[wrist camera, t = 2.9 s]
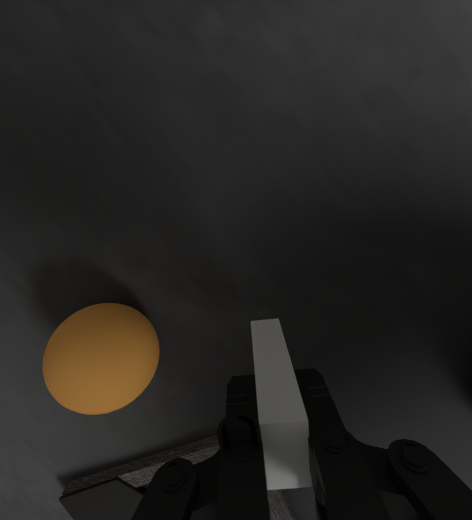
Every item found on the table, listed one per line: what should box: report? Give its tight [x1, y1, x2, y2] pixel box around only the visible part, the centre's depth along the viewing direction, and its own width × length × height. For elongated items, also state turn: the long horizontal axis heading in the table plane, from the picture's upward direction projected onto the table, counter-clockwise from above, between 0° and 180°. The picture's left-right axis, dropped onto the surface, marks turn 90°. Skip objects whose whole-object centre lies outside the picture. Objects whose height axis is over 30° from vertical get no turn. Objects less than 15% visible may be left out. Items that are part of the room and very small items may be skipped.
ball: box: [43, 303, 160, 415], centre depth 16 cm, size 6×6×6 cm
